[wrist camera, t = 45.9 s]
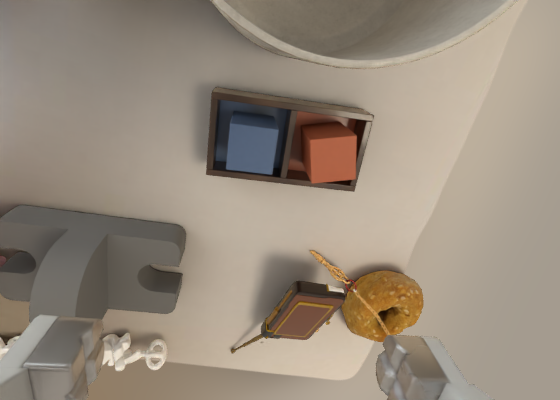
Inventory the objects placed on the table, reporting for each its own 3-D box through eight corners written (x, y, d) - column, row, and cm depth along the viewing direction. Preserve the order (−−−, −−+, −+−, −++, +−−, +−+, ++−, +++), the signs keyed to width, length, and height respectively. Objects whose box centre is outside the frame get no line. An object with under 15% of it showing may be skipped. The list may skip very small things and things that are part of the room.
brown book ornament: (265, 241, 39) (229, 330, 49) (283, 351, 29) (233, 434, 38) (364, 254, 43) (312, 333, 53) (410, 354, 33) (335, 428, 43)
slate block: (268, 155, 35) (272, 175, 29) (229, 150, 34) (225, 169, 29) (274, 116, 33) (279, 129, 28) (233, 110, 33) (230, 122, 27)
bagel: (322, 312, 45) (330, 340, 41) (373, 251, 42) (388, 274, 37) (378, 337, 48) (392, 366, 43) (430, 282, 45) (450, 307, 40)
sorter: (362, 108, 34) (374, 115, 31) (345, 179, 37) (354, 191, 34) (215, 87, 32) (211, 91, 29) (210, 163, 35) (206, 174, 32)
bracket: (180, 293, 42) (158, 369, 32) (21, 278, 39) (-56, 355, 29) (186, 226, 38) (164, 288, 28) (11, 203, 35) (-81, 263, 26)
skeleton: (169, 327, 44) (162, 350, 41) (171, 349, 46) (165, 373, 42) (-38, 333, 42) (-63, 358, 38) (-28, 355, 43) (-51, 381, 40)
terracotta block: (339, 159, 36) (356, 179, 30) (302, 163, 35) (311, 183, 30) (339, 121, 34) (356, 135, 28) (300, 124, 34) (309, 139, 28)
